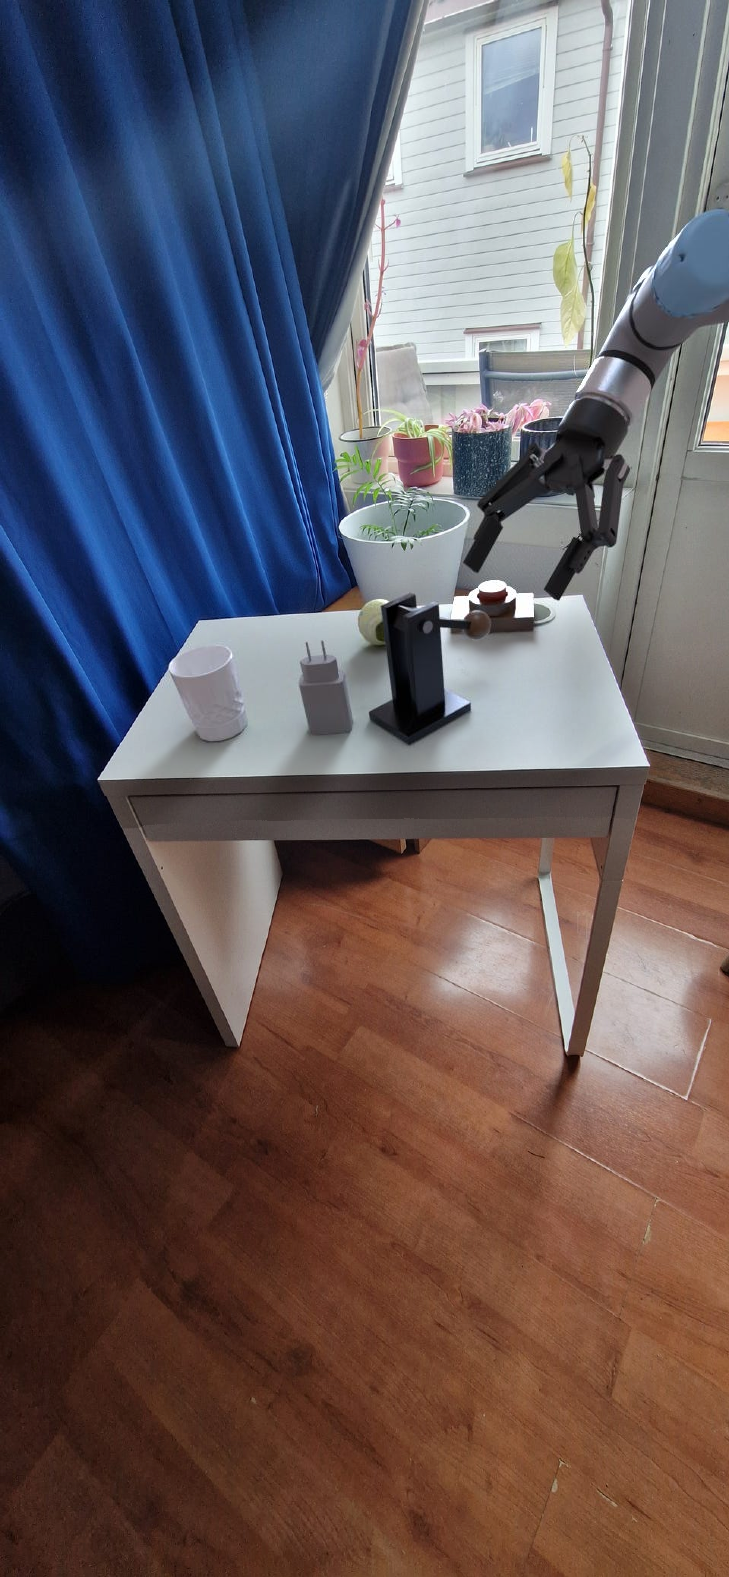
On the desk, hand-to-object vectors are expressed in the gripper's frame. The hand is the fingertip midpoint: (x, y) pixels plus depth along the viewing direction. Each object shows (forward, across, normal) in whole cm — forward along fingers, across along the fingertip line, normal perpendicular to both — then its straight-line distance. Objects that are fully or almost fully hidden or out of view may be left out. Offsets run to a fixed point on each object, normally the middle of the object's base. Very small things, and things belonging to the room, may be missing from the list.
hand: (508, 581), depth 80 cm
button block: (+2, +12, -14) cm, 19 cm away
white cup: (+34, +17, +16) cm, 41 cm away
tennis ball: (+14, +19, -4) cm, 24 cm away
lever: (+10, 0, +6) cm, 12 cm away
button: (0, +12, -12) cm, 17 cm away
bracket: (+20, 0, +2) cm, 20 cm away
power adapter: (+26, +6, +9) cm, 28 cm away
